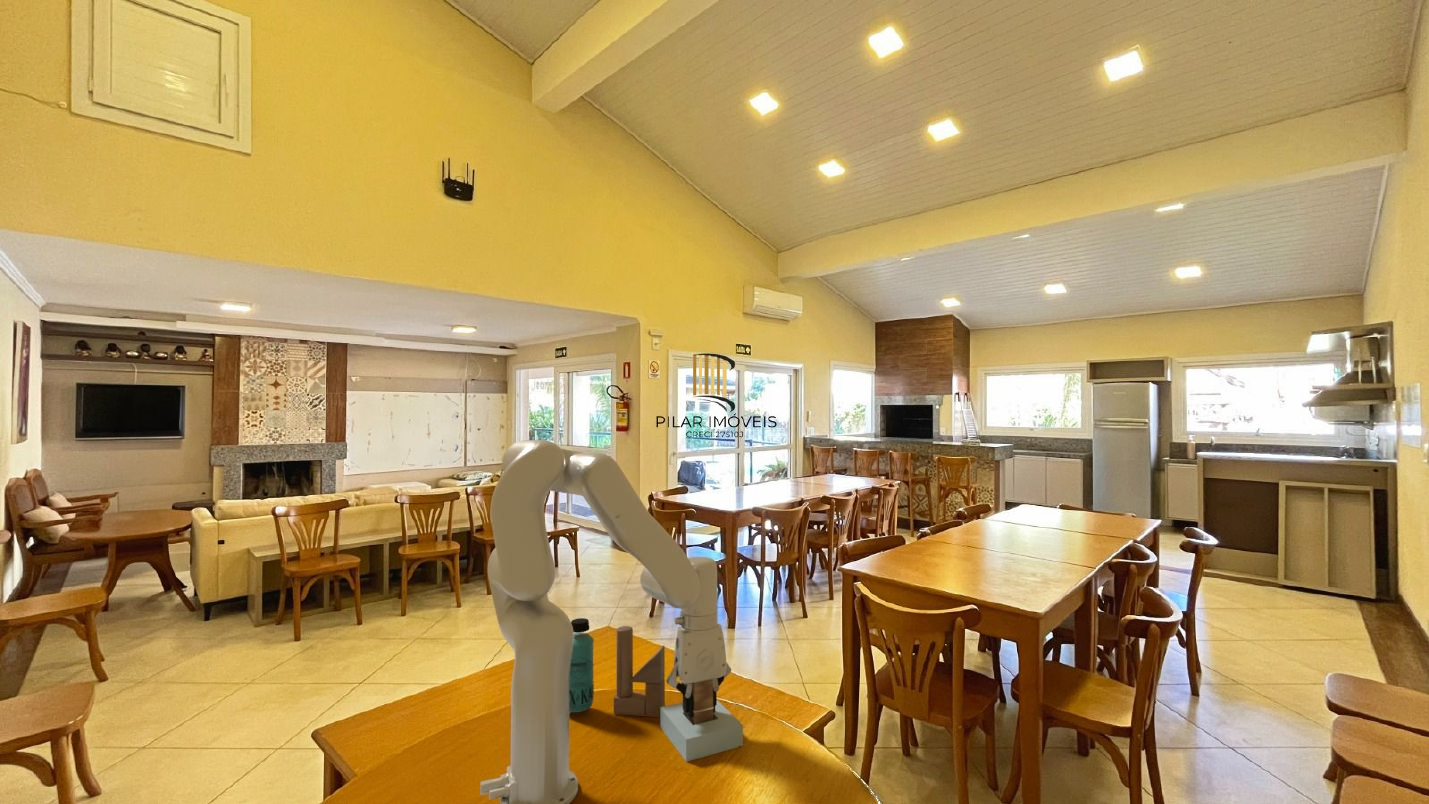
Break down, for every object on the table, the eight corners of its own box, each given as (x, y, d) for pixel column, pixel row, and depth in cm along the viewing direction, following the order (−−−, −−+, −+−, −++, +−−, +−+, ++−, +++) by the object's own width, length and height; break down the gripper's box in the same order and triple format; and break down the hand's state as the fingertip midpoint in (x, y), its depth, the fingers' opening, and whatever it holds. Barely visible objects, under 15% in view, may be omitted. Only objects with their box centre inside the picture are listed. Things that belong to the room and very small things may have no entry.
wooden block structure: (661, 718, 120) (660, 632, 121) (613, 715, 122) (613, 630, 123) (665, 710, 123) (664, 627, 125) (618, 707, 125) (618, 625, 126)
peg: (694, 733, 110) (694, 681, 110) (686, 723, 114) (686, 673, 114) (713, 728, 112) (713, 677, 112) (705, 719, 115) (704, 669, 116)
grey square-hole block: (686, 761, 104) (686, 739, 104) (660, 727, 116) (660, 707, 116) (742, 745, 109) (742, 724, 109) (712, 714, 121) (712, 695, 122)
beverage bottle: (560, 710, 124) (561, 618, 125) (589, 703, 127) (590, 613, 129) (567, 723, 118) (567, 626, 120) (597, 715, 121) (598, 621, 123)
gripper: (667, 632, 107) (667, 730, 106) (744, 619, 114) (745, 711, 113) (654, 620, 114) (654, 713, 113) (727, 609, 121) (728, 696, 120)
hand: (699, 711), depth 113 cm, fingers closed on peg, 4 cm apart
